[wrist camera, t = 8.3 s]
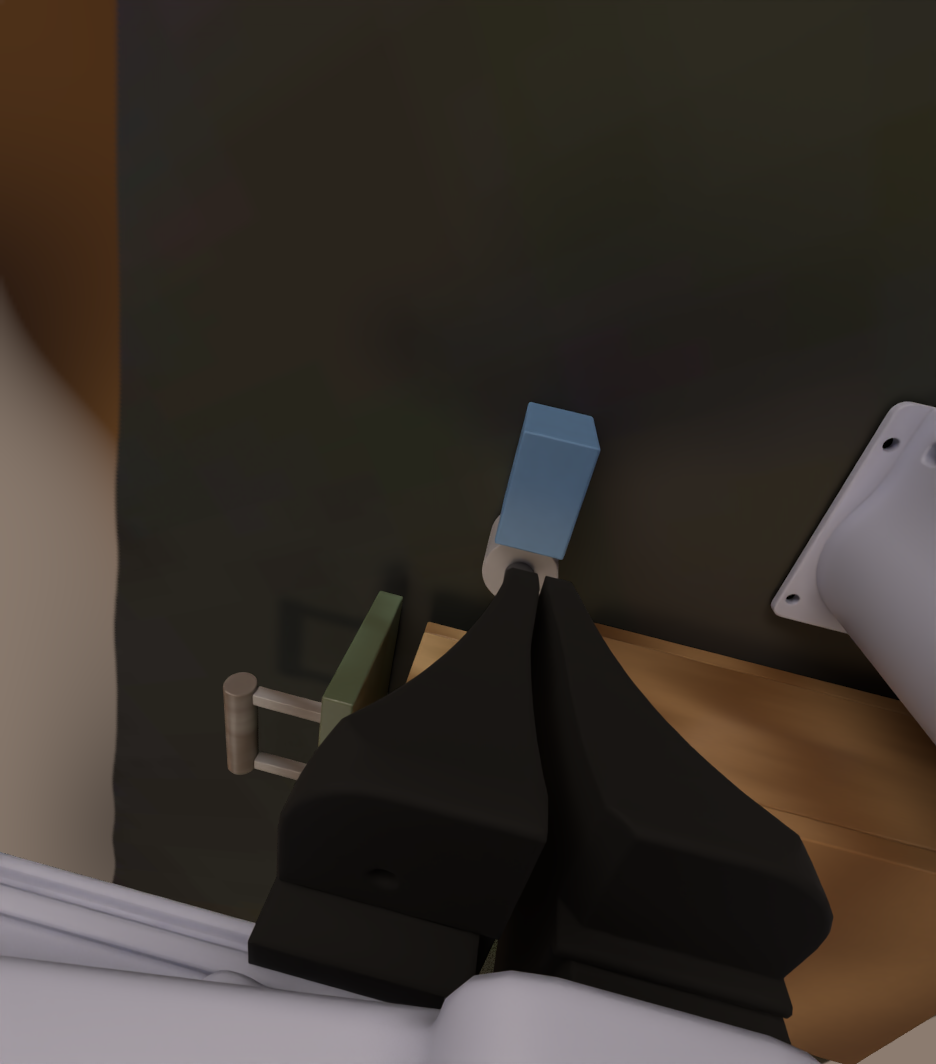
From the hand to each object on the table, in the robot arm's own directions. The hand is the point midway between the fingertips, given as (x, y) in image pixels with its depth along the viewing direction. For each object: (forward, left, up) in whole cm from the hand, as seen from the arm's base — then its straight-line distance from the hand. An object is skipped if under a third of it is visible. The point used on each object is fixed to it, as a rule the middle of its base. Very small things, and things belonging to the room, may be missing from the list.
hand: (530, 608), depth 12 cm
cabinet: (+14, +12, -10) cm, 21 cm away
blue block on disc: (+2, 0, -10) cm, 11 cm away
